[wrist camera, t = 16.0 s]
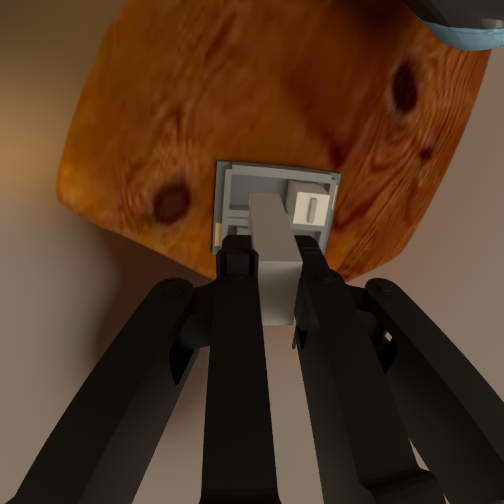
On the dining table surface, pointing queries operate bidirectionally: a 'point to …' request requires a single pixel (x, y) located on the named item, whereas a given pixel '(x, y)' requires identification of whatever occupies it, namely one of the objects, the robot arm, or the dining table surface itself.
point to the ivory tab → (307, 202)
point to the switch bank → (265, 181)
